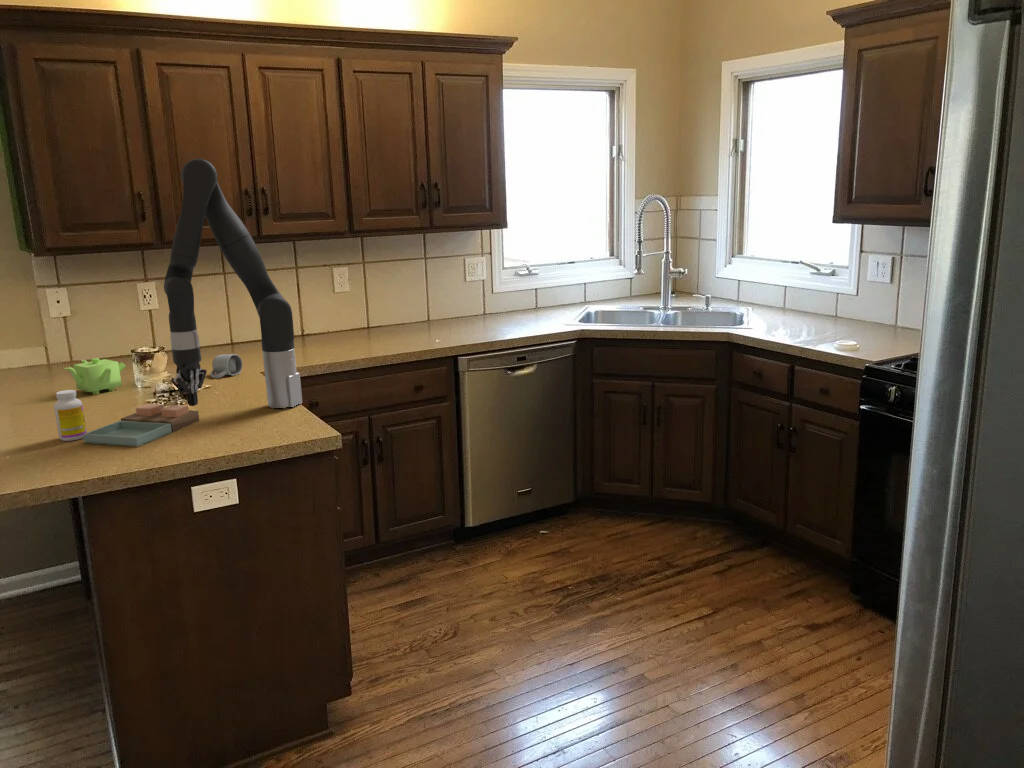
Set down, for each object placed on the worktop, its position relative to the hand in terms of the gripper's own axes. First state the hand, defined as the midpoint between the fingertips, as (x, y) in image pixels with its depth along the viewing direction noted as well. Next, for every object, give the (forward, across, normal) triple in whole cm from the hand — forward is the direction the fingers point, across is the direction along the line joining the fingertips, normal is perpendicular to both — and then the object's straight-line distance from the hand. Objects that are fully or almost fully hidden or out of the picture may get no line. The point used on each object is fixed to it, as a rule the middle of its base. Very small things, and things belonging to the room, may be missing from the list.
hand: (193, 405), depth 235 cm
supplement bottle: (+4, -24, +20) cm, 32 cm away
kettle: (+4, +22, +56) cm, 60 cm away
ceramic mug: (+4, +51, +26) cm, 57 cm away
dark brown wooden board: (+4, -9, +4) cm, 10 cm away
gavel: (+4, +24, +22) cm, 33 cm away
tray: (+4, -21, +4) cm, 22 cm away
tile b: (+1, -8, +8) cm, 11 cm away
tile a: (+1, -8, 0) cm, 8 cm away
